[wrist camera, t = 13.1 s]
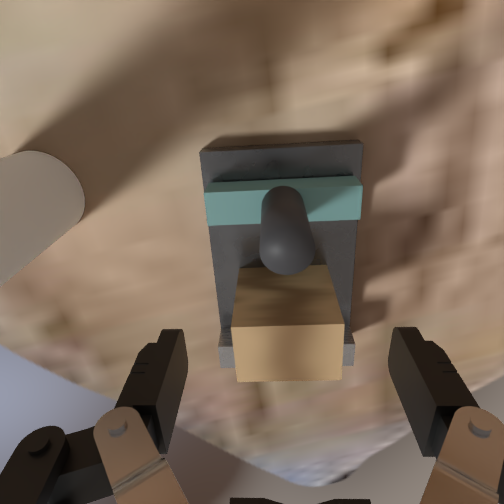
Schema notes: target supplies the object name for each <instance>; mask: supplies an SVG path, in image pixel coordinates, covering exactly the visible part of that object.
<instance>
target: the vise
mask: <svg viewBox="0 0 504 504" xmlns="http://www.w3.org/2000/svg"><path fill="white" fill-rule="evenodd" d="M199 154H200V162H201V170H202V178H203V186H204V191H205V189H206V187H207V185H208V183H215V182H235V181H256V180H276V179H297V178H318V177H338V176H356V177H357V179H358V180H359V181H361V168H362V155H363V143H362V142H361V141H360V140H347V141H329V142H310V143H292V144H274V145H255V146H237V147H219V148H202V150H201V151H200V152H199ZM357 221H358V220H336V221H311V222H309V224H310V227H311V231H312V235H313V239H314V243H315V249H316V250H315V256H314V259H313V261H312V262H311V264H310V265H327V267H328V270H329V273H330V277H331V280H332V283H333V287H334V290H335V293H336V297H337V300H338V303H339V307H340V310H341V314H342V317H343V320H344V324H345V326H344V344H343V361H342V366H353V365H354V353H355V342H354V338H353V335H352V332H351V329H350V313H351V300H352V286H353V273H354V260H355V247H356V234H357ZM260 227H261V224H239V225H214V226H209V234H210V242H211V251H212V259H213V267H214V275H215V283H216V291H217V299H218V307H219V315H220V323H221V333H220V338H219V344H218V351H219V358H220V366H221V368H236V367H235V359H234V350H233V342H232V333H231V322H232V315H233V308H234V301H235V294H236V287H237V280H238V273H239V268H259V267H266V266H265V265H264V263H263V262H262V260H261V257H260V252H259V249H260Z"/></svg>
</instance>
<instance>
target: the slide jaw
mask: <svg viewBox="0 0 504 504" xmlns="http://www.w3.org/2000/svg"><path fill="white" fill-rule="evenodd" d="M362 191H363V185H362V184H361V182H360V181H359V180H358V179H357V177H356V176H338V177H318V178H297V179H276V180H256V181H235V182H215V183H208V185H207V187H206V189H205V191H204V199H205V207H206V215H207V223H208V226H214V225H239V224H261V227H260V249H259V252H260V257H261V260H262V262H263V263H264V265H265V266H266V267H267V268H268V269H269V270H271V271H273V272H275V273H277V274H281V275H292V274H296V273H299V272H301V271H303V270H305V269H306V268H307V267H308V266H309V265H310V264H311V262H312V261H313V259H314V256H315V250H316V249H315V243H314V239H313V235H312V231H311V227H310V224H309V222H311V221H336V220H360V216H361V204H362Z"/></svg>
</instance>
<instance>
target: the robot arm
mask: <svg viewBox="0 0 504 504" xmlns="http://www.w3.org/2000/svg"><path fill="white" fill-rule="evenodd" d="M388 367H389V372H390V376H391V378H392V381H393V383H394V386H395V388H396V391H397V393H398V396H399V398H400V401H401V403H402V405H403V408H404V410H405V413H406V415H407V418H408V420H409V423H410V425H411V428H412V430H413V433H414V435H415V437H416V440H417V443H418V445H419V448H420V450H421V453H422V455H423V457H436V462H435V465H434V467H433V470H432V472H431V475H430V478H429V481H428V483H427V486H426V488H425V491H424V494H423V496H422V499H421V502H420V504H498V503H499V504H504V424H503V423H502V422H501V421H500V420H499V419H498V418H497V417H495V416H494V415H493V414H491V413H489V412H488V411H486V410H483V409H481V408H480V407H479V406H478V404H477V402H476V401H475V399H474V398H473V396H472V394H471V393H470V391H469V390H468V388H467V386H466V385H465V383H464V382H463V380H462V378H461V377H460V375H459V374H458V373H457V370H456V369H455V367H454V366H453V364H451V361H450V359H449V358H448V356H447V354H446V353H445V351H444V350H443V349H442V348H440V347H439V346H438V345H437V344H436V343H434V342H433V341H425V340H424V339H423V337H422V335H421V334H420V332H419V330H418V329H417V328H416V327H395V328H394V329H393V333H392V339H391V345H390V350H389V356H388ZM187 373H188V357H187V351H186V344H185V338H184V332H183V330H182V329H163V330H162V331H161V333H160V336H159V338H158V341H157V343H148V344H147V345H146V346H145V347H144V348H143V349H142V350H141V351H140V352H139V354H138V356H137V358H136V360H135V363H134V365H133V367H132V369H131V372H130V374H129V376H128V378H127V381H126V383H125V385H124V387H123V390H122V392H121V394H120V396H119V399H118V401H117V403H116V406H115V408H114V409H112V410H110V411H109V412H107V413H106V414H104V415H103V416H102V417H101V418H100V419H99V420H98V422H97V423H96V425H95V426H93V427H91V428H88V429H85V430H81V431H78V432H74V433H71V434H67V435H65V433H64V431H63V430H62V429H61V428H59V427H57V426H46V427H42V428H40V429H37V430H35V431H33V432H32V433H30V434H29V435H27V436H26V437H25V438H24V439H23V440H22V441H21V442H20V443H19V444H18V446H17V447H16V449H15V450H14V452H13V454H12V456H11V457H10V459H9V461H8V462H7V464H6V466H5V467H4V469H3V471H2V472H1V474H0V504H87V503H90V502H93V501H96V500H99V499H101V498H105V497H108V496H111V495H114V496H115V499H116V502H117V504H189V503H188V501H187V499H186V497H185V495H184V493H183V491H182V490H181V487H180V486H179V484H178V482H177V480H176V478H175V476H174V474H173V472H172V470H171V468H170V466H169V465H168V463H167V461H166V460H165V458H163V459H162V458H161V456H160V454H167V452H168V448H169V444H170V440H171V436H172V432H173V429H174V425H175V421H176V417H177V413H178V409H179V405H180V401H181V397H182V393H183V389H184V385H185V381H186V378H187ZM230 504H282V503H279V502H275V501H272V500H269V499H265V498H230ZM319 504H371V502H370V499H333V500H330V501H326V502H322V503H319Z"/></svg>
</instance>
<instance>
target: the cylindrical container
mask: <svg viewBox="0 0 504 504" xmlns="http://www.w3.org/2000/svg"><path fill="white" fill-rule="evenodd" d="M84 208H85V197H84V192H83V189H82V186H81V184H80V182H79V180H78V179H77V177H76V175H75V174H74V173H73V172H72V171H71V169H70V168H69V167H68V166H66V165H65V164H64V163H63V162H62V161H60V160H59V159H57V158H55V157H54V156H51V155H49V154H46V153H44V152H39V151H22V152H18V153H15V154H12V155H9V156H6V157H3V158H1V159H0V287H1V286H2V285H3V284H4V283H5V282H7V281H8V280H9V279H10V278H12V277H13V276H14V275H15V274H16V273H18V272H19V271H20V270H21V269H23V268H24V267H25V266H26V265H27V264H29V263H30V262H31V261H32V260H33V259H35V258H36V257H37V256H38V255H40V254H41V253H42V252H43V251H44V250H46V249H47V248H48V247H49V246H50V245H52V244H53V243H54V242H55V241H57V240H58V239H59V238H60V237H61V236H63V235H64V234H65V233H66V232H67V231H69V230H70V229H71V228H72V227H74V226H75V225H76V224H77V223H78V222H79V220H80V219H81V217H82V215H83V213H84Z"/></svg>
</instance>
